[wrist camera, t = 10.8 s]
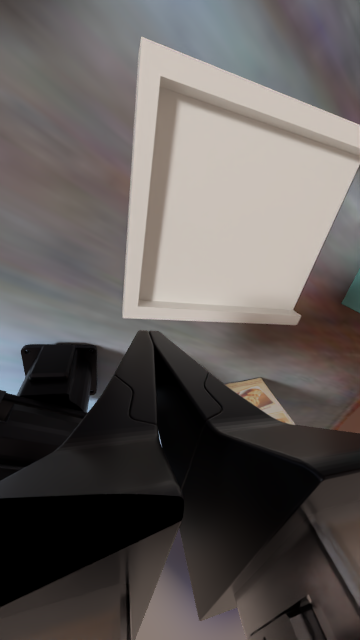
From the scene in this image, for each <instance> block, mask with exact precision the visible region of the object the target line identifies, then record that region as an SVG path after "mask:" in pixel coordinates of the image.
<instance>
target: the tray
mask: <svg viewBox="0 0 360 640" xmlns="http://www.w3.org/2000/svg"><path fill="white" fill-rule="evenodd" d="M359 165H360V125H358V124H356V123H354V122H351V121H349V120H346V119H344V118H341V117H339V116H336V115H334V114H331V113H329V112H326V111H324V110H321V109H319V108H316V107H314V106H312V105H309V104H307V103H304V102H302V101H299V100H297V99H294V98H292V97H289V96H287V95H284V94H282V93H279V92H277V91H274V90H272V89H270V88H267V87H265V86H262V85H260V84H257V83H255V82H252V81H250V80H247V79H245V78H242V77H240V76H237V75H235V74H232V73H230V72H228V71H225V70H223V69H220V68H218V67H215V66H213V65H210V64H208V63H205V62H203V61H200V60H198V59H195V58H193V57H190V56H188V55H186V54H183V53H181V52H178V51H176V50H173V49H171V48H168V47H166V46H163V45H161V44H158V43H156V42H153V41H151V40H148V39H146V38H144V37H141V42H140V49H139V55H138V70H137V86H136V102H135V117H134V133H133V149H132V164H131V180H130V196H129V211H128V227H127V243H126V259H125V274H124V290H123V306H122V311H123V318H135V319H160V320H184V321H209V322H233V323H258V324H283V325H297V324H298V322H299V320H300V317H301V315H300V314H298V313H297V312H295V311H294V310H293V309H294V307H295V304H296V302H297V300H298V298H299V296H300V294H301V291H302V289H303V287H304V285H305V283H306V280H307V278H308V276H309V274H310V272H311V270H312V267H313V265H314V263H315V261H316V259H317V256H318V254H319V252H320V250H321V248H322V246H323V243H324V241H325V239H326V237H327V235H328V232H329V230H330V228H331V226H332V224H333V222H334V219H335V217H336V215H337V213H338V211H339V208H340V206H341V204H342V202H343V200H344V198H345V195H346V193H347V191H348V189H349V187H350V184H351V182H352V180H353V178H354V176H355V174H356V171H357V169H358V167H359Z"/></svg>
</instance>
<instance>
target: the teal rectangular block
mask: <svg viewBox="0 0 360 640" xmlns="http://www.w3.org/2000/svg"><path fill="white" fill-rule="evenodd" d="M341 304H343V305H345V306H347V307H349V308H351V309H353V310H355V311H357V312H359V313H360V269H359V271H358V273H357V275H356V277H355V279H354V280H353V282H352V284H351V286H350V288H349V290H348V292H347V294H346V296H345V298H344V299H343V301H342V303H341Z"/></svg>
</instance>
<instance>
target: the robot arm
mask: <svg viewBox="0 0 360 640" xmlns="http://www.w3.org/2000/svg"><path fill="white" fill-rule="evenodd" d="M26 350H29V351H26ZM89 350H93V351H89ZM21 355H22V360H23V366H24V371H25V376H26V377H25V379H24V382H23V384H22V386H21V388H20V390H19V392H18V394H17V396H16V395H12V394H8V393H6V391H2V390H0V640H135V638H136V636H137V633H138V631H139V628H140V626H141V623H142V621H143V618H144V616H145V613H146V610H147V608H148V605H149V603H150V600H151V598H152V595H153V593H154V590H155V588H156V585H157V582H158V580H159V577H160V575H161V572H162V570H163V567H164V565H165V562H166V560H167V557H168V554H169V552H170V549H171V547H172V544H173V542H174V539H175V537H176V534H177V532H178V529H180V533H181V538H182V542H183V547H184V552H185V557H186V561H187V566H188V571H189V575H190V580H191V585H192V589H193V594H194V598H195V603H196V608H197V612H198V617H199V620H200V621H202V620H205V619H208V618H210V617H213V616H215V615H218V614H221V613H224V612H226V611H229V610H231V609H234V608H238V611H239V615H240V618H241V622H242V625H243V629H244V632H245V636H246V639H247V640H360V434H359V433H352V432H344V431H337V430H329V429H322V428H314V427H306V426H299V425H292V424H288V423H284V422H281V421H279V420H277V419H275V418H273V417H271V416H270V415H268V414H266V413H265V412H264V411H262V410H261V409H259V408H258V407H256V406H255V405H253V404H252V403H250V402H249V401H247V400H246V399H244V398H243V397H242V396H240V395H239V394H237V393H236V392H234V391H233V390H232V389H230V388H229V387H227V386H226V385H225V384H223V383H222V382H221V381H220V380H218V379H217V378H216V377H214V376H213V375H212V374H211V373H209V372H208V371H207V370H206V369H205V368H203V367H202V366H201V365H200V364H198V363H197V362H196V361H195V360H194V359H192V358H191V357H190V356H189V355H187V354H186V353H185V352H184V351H183V350H181V349H180V348H179V347H178V346H176V345H175V344H174V343H173V342H171V341H170V340H169V339H168V338H167V337H165V336H164V335H163V334H162V333H160V332H159V331H149V332H148V331H142V330H139V331H138V332H137V334H136V336H135V338H134V339H133V341H132V343H131V345H130V347H129V348H128V350H127V352H126V354H125V356H124V357H123V359H122V361H121V363H120V365H119V366H118V368H117V370H116V372H115V374H114V376H113V377H112V379H111V381H110V382H109V384H108V386H107V387H106V389H105V390H104V392H103V394H102V395H101V396H100V398H99V399H98V400H97V402H96V403H95V404H94V406H93V407H92V408H91V410H90V411H89V412H88V413H87V409H88V402H89V395H94V394H95V393H96V390H97V348H96V347H95V346H92V345H25V346H24V347H23V348H22V350H21ZM90 390H93V391H90ZM158 430H159V433H158ZM159 435H160V439H161V444H162V446H161V444H160V440H159Z"/></svg>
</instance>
